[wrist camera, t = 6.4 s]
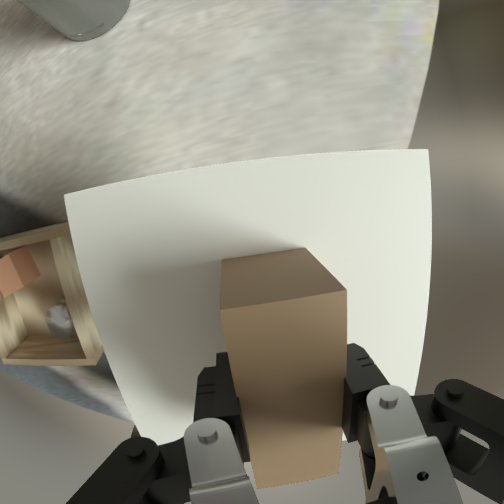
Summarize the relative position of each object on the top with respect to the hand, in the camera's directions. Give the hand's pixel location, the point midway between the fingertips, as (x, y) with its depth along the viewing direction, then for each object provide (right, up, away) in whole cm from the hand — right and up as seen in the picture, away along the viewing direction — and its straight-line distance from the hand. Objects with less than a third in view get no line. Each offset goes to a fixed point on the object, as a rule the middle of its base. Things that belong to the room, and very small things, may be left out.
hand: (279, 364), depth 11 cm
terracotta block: (-28, +2, +20) cm, 35 cm away
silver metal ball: (-22, -2, +21) cm, 31 cm away
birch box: (-25, 0, +21) cm, 33 cm away
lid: (0, +1, +3) cm, 3 cm away
